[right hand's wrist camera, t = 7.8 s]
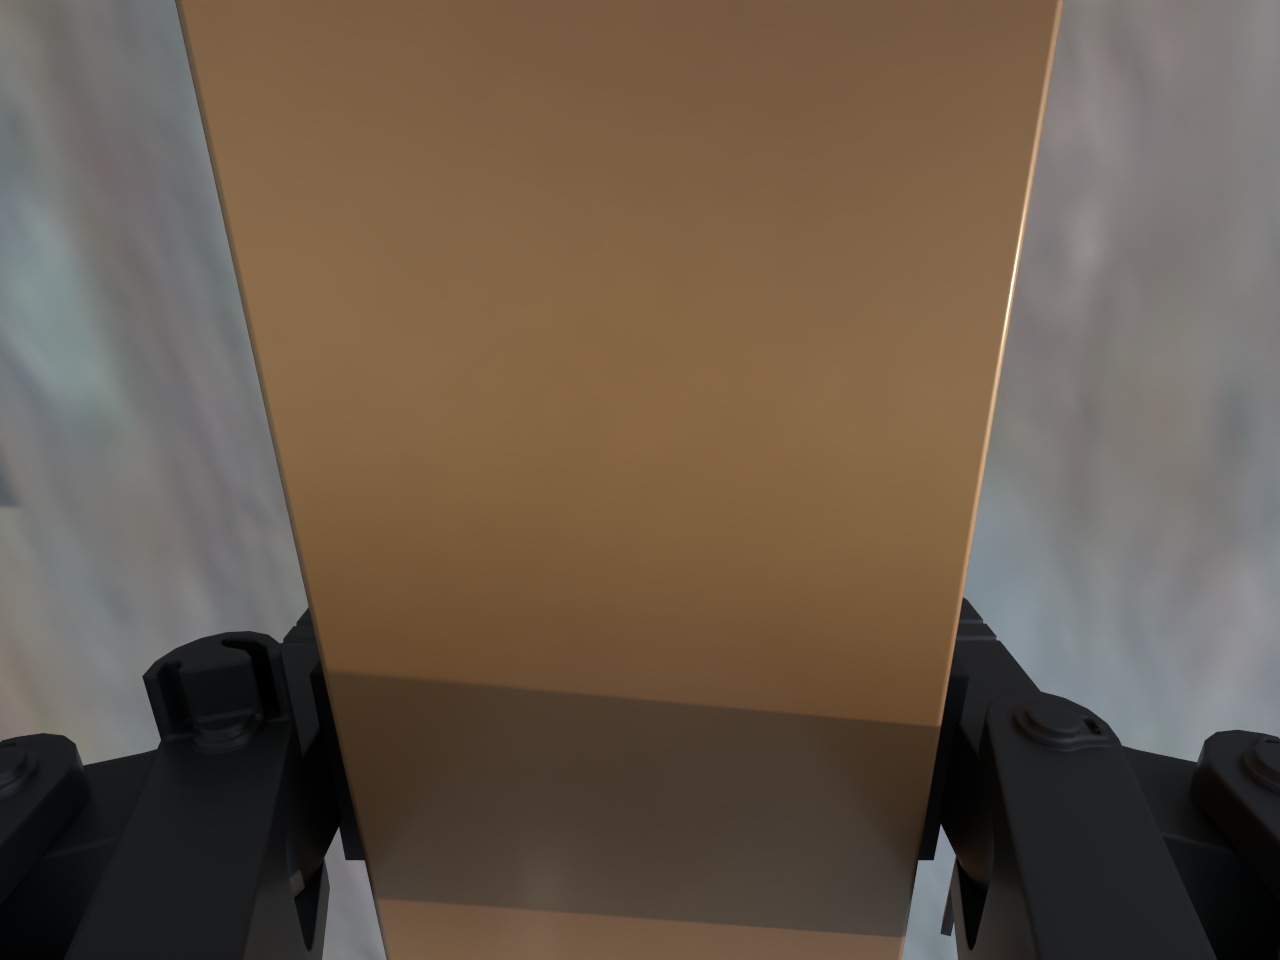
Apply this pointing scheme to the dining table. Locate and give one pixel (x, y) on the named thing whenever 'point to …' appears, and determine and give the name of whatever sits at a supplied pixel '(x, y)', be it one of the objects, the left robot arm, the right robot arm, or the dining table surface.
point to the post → (630, 437)
